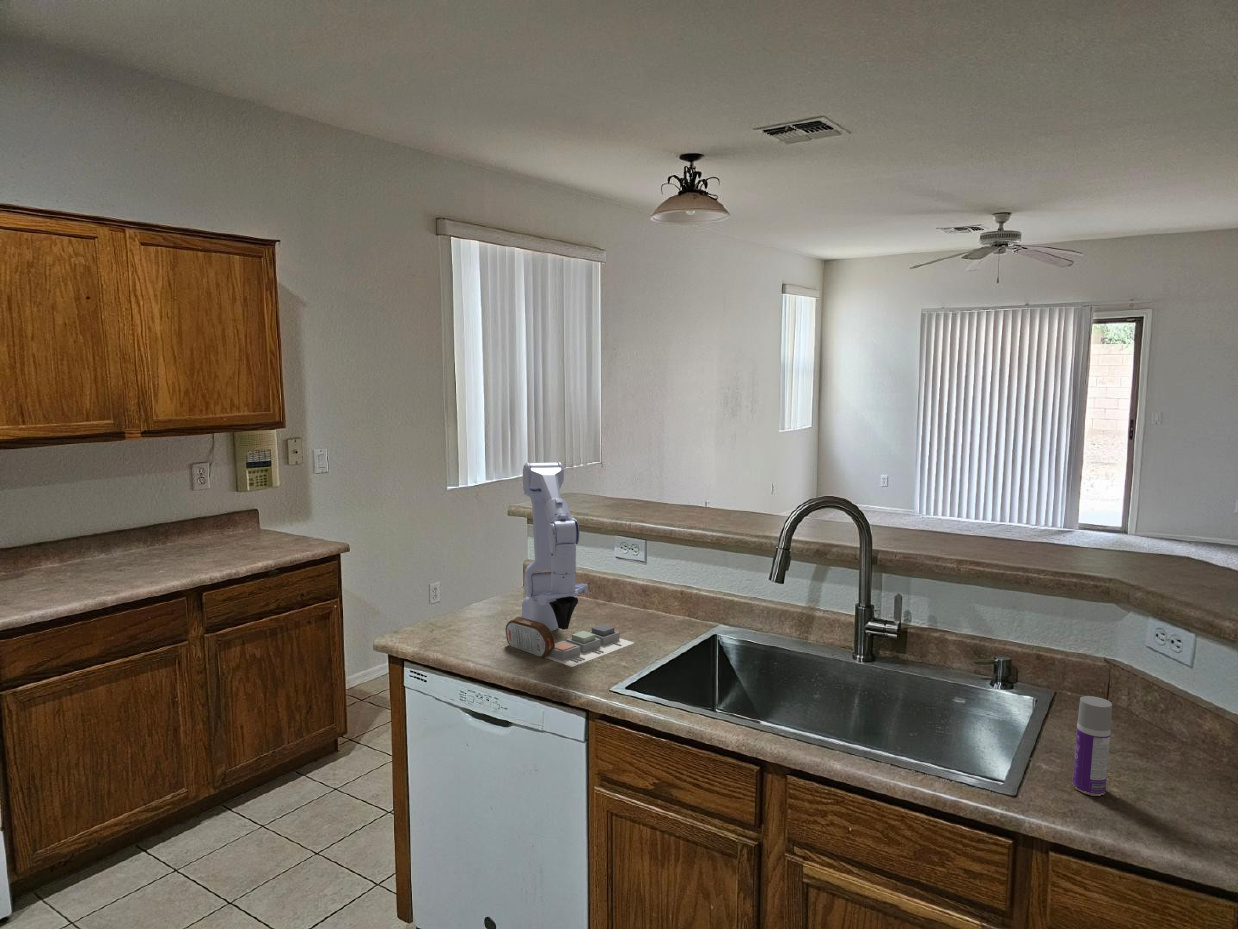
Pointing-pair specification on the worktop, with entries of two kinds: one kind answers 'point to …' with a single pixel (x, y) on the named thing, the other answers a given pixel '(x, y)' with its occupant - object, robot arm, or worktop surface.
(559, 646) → the key three
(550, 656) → the keypad
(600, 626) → the key one
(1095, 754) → the container
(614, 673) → the worktop surface
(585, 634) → the key two
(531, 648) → the tin
